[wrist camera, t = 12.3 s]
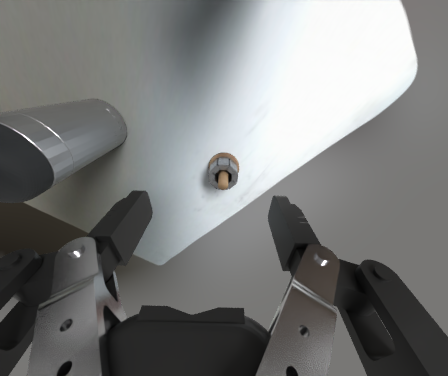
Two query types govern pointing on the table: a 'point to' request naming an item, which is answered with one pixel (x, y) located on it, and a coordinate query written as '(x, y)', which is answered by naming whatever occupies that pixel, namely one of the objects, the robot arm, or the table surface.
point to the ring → (223, 164)
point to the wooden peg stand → (223, 173)
